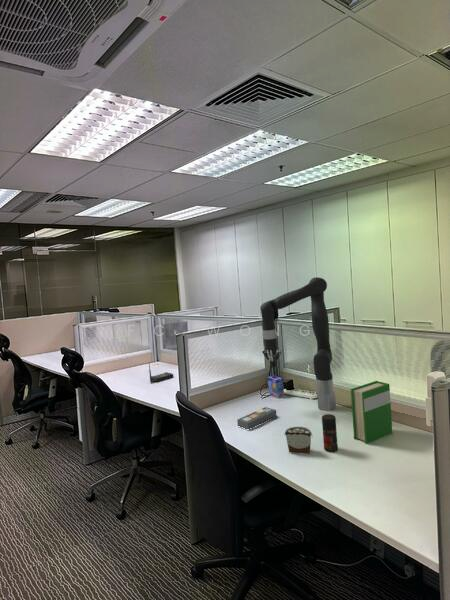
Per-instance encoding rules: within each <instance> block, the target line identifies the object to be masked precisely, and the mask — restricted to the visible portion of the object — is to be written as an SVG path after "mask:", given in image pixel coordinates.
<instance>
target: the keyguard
mask: <svg viewBox="0 0 450 600" xmlns="http://www.w3.org/2000/svg"><path fill="white" fill-rule="evenodd" d="M266 408H267V409H271V410H272V411H271V412H268V413H267V412H265V414H264V415H262V416H261V415H259V417H257V418H255V419H254V418H252V420H251V421H249V422H246V421H243V420H242V419H244V418H246V417H249V416H250V415H253V414H255V411H253V412H250V413H249V414H247V415H245V416H242V417H240V418H238V419H237V421H236V422H237V427H238V426H240V427H243V428H245V429H244V430H246V429H250V428H252V429H254V428H253V427H255V426H257V425H259V424H261V425H262V423H263V424H265V423H267V422H269V421H271V420H274V419H275V418H277V416H278V415H277V409H274V408H270V407H267V406H264V407H263V408H261V409H262V410H264V409H266ZM255 415H257V414H255ZM249 418H251V417H249ZM270 419H271V420H270ZM268 420H269V421H268ZM266 421H267V422H266ZM264 422H265V423H264ZM259 426H260V425H259ZM240 427H239V428H240ZM257 427H258V426H257ZM243 428H242V429H243ZM255 428H256V427H255ZM250 430H251V429H250Z"/></svg>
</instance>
